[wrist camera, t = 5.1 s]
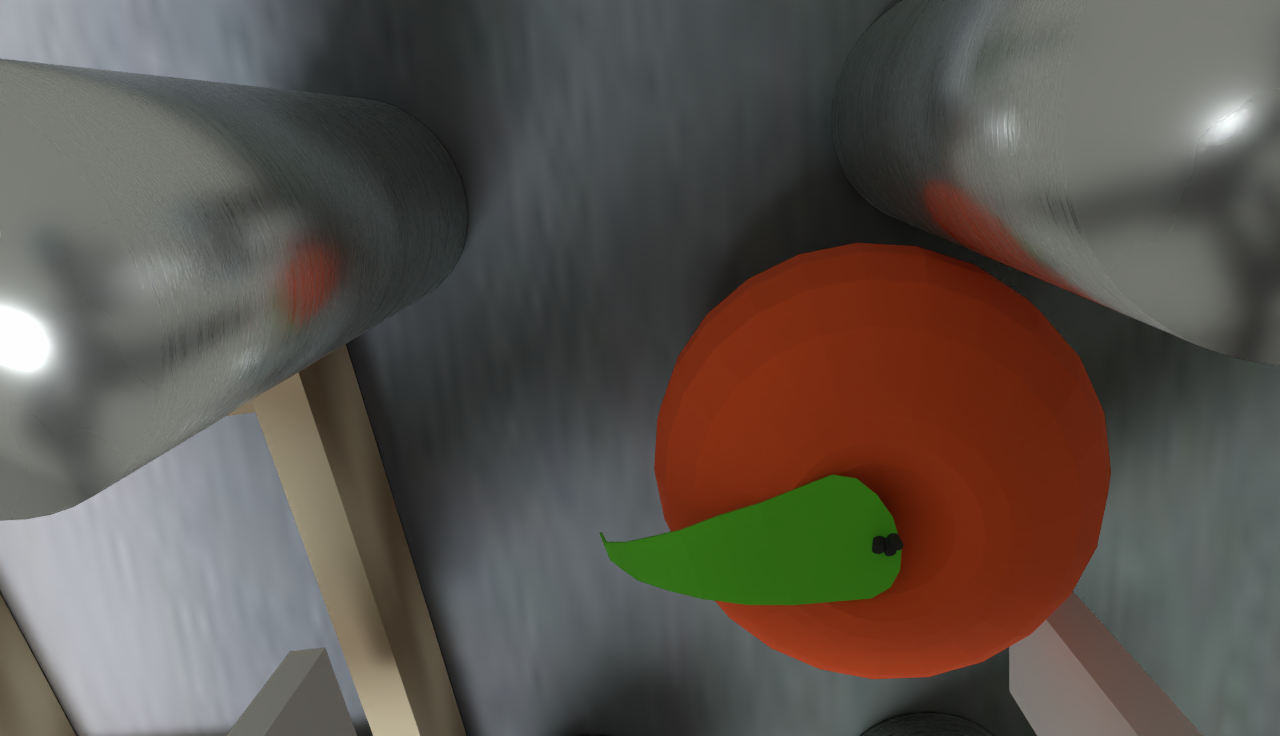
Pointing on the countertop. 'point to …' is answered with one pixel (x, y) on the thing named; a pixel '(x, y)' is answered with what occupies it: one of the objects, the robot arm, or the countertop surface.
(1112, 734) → the robot arm
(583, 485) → the countertop surface
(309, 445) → the beech corral
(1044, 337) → the clementine
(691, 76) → the countertop surface
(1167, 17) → the spacer field
